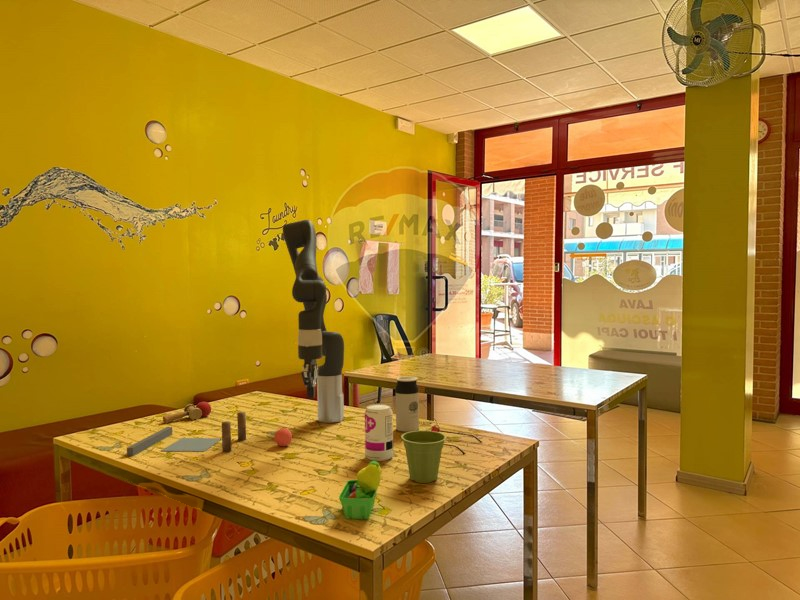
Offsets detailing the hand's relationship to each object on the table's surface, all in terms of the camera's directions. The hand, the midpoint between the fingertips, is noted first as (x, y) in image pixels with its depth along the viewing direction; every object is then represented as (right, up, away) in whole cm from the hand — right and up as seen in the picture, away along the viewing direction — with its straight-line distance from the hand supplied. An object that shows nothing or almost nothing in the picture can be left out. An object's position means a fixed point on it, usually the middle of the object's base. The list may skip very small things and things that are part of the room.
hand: (310, 398), depth 176 cm
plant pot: (+34, -16, -30) cm, 48 cm away
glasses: (+44, -15, 0) cm, 47 cm away
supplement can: (+22, -16, -11) cm, 29 cm away
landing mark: (-39, -16, +4) cm, 42 cm away
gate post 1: (-25, -16, -3) cm, 30 cm away
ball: (-9, -13, +1) cm, 16 cm away
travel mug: (+31, -15, +19) cm, 39 cm away
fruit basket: (+20, -17, -49) cm, 56 cm away
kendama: (-53, -15, +38) cm, 67 cm away
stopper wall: (-53, -16, +5) cm, 55 cm away
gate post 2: (-24, -15, +9) cm, 30 cm away
